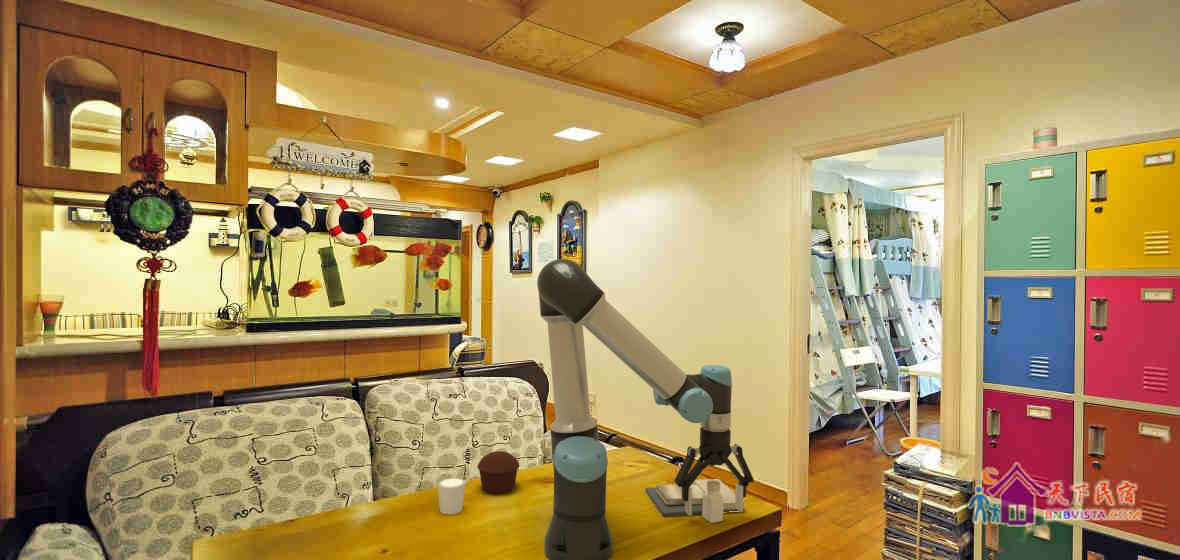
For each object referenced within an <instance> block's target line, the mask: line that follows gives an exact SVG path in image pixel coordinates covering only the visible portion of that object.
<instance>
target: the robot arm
mask: <svg viewBox="0 0 1180 560" xmlns="http://www.w3.org/2000/svg"><path fill="white" fill-rule="evenodd" d="M536 283H537V286H536V287H537V290H538V300H539V302H538V303H539V310H540V311H539V312H540V313H539V314H540V318H542V319H543V320H544V321H545V322H546V323H547V331H548V333H547V334H548V344H549V346H548V347H549V355H550V367H551V380H552V390H553V404H554V414H555V420H553V422H552V423H551V425H550V426H549V427H550V438H551V439H550V440H551V441H550V442H551V456H552V462H553V463H552V466H553V503H552V504H553V505H552V506H553V507H552V508H553V510H552V517H551V519H550V522H549V525H548V528H547V531H546V533H545V536H544V542H543V543H544V546H543V547H544V548H543V550H544V554H545V555H546V557H547V558H548V559H549V560H608V559H609V558H610V557H611V555H612V554H613V545H614V542H613V536H612V533H611V529H610V526H609V523H608V519H607V516H606V510H607V509H606V508H607V506H606V505H607V504H606V503H607V501H606V500H607V474H608V473H607V472H608V471H607V469H608V465H609V464H608V463H609V460H608V459H609V458H608V452H607V448H606V446H605V445H604V444H603V443H602V442H601V441H600V440H599V439H600V438H599V429H598V428H599V427H598V421H597V420H596V419H595V418H594V417H592V416H591V408H590V407H591V406H590V395H589V385H588V372H587V361H586V348H585V338H584V337H585V336H584V328H585V329H586V330H587V331H588V332H590V333H591V334H592V335H593V336H594V337H595V338H596V339H597V340H598V341H599V342H601V343H602V344H603V345H604V346H605V347H606V348H607V349H609V350H610V352H612V354H614V355H615V356H616V357H617V358H618V359H619V360H620V361H622V362H623V364H625V365H626V366H627V367H628V368H629V369H631V370H632V372H633V373H635V375H637V376H638V377H639V378H640V379H641V380H642V381H643V382H645V384H647V385H648V386H649V387H650V388H651V389H652V393H653V394H652V395H653V398H654V402H655V404H657V405H660V406H666V407H668V406H671V407H672V408H673V410H675V411H676V412H677V413H678V414H679V415H680V417H681V418H683V419H684V420H686V421H687V422H689V423H692V424H699V425H700V426H701V427H700V429H699V447H697V448H696V447H692V445H691V446H688V447H687V450H686V456H685V458H684V460H683V462H682V464H681V466H680V468H679V470H678V472H677V474H676V477H675V478H674V483H675V485H678V486H679V487H682V499H683V500H684V501H685V512H686V513H687V514H688V516H689V517H691V516H693V515H692V489H691V488H690V486H691V485H693V484H694V481H695V480H697V478H698V477H700V474H701V473H702V472H703V470H705V469H706V468H707V467H708V466H710V467H714V466H723V465H725V466H726V467H727V468H728V470H729V471H730V472H731V473H732V475H734V477H735V478H736V479H737V482H736V481H735V493H734V494H735V508H736V509H737V510H738V511H739V513H744V512H743V502H744V498H746V496H747V487H749V483H754V482H755V480H754V477H753V475H752V472H751V470H750V468H749V466H748V464H747V462H746V460H745V457H744V454H743V447H742V446H740V445H739V444H736V443H735V444H734V445H731V435H732V434H731V433H732V431H731V429H730V428H731V427H732V426H731V425H732V424H731V423H732V421H731V420H732V408H731V407H732V391H733V389H732V387H733V384H732V383H733V382H732V380H733V379H732V372H731V369H730V368H729V367H727V366H724V365H717V364H716V365H715V364H710V365H709V364H707V365H703V366H702V367H701V368H700V373H696V374H686V373H685V372H684V371H683V370H682V369H681V368H680V367H679V366H678V365H676V363H674V362H673V361H672V359H670V358H669V357H668V356H667V355H666V354H665V353H664V352H662V350H661V349H660V348H658V347H657V346H656V345H655V343H653V342H652V341H651V340H649V339H648V337H646V336H645V335H644V334H643V333H642V332H641V331H640V330H639V329H637V328H636V326H635V325H633V323H631V321H629V320H628V319H627V318H626V317H625V316H624V315H622V314H621V313H620V312H619V311H618V310H617V309H616V308H615V307H614V306H613V305H612V304H611V303H609V302H608V301H607V300H606V292H604V291H603V289H601V288H600V287H599V286H598V285H597V284H596V283H595V281H594V280H593V279H592V278H591V277H590V276H589V274H588V273H587V272H586V271H585V269H584V268H583V267H582V266H581V265H580V264H579V263H578V262H576V261H574V260H571V259H567V258H558V259H554V260H552V261H550V262H548V263H547V264H545V265H544V266H543V267H542V268H541V270H540V272H539V274H538V276H537V282H536ZM731 454H733V455H734V457H735V459H736V461H737V463H738V465H739V468H740V470H741V472H742V474H743V475H742V474H741V473H740V471H739V470H738V469H737V467H736V466H735V465H734V464H733V462H732V461H731V460H730V459H729V457H730V455H731ZM698 455H700V456H699V458H698V459H697V461H696V463H695V464H694V462H695V459H696V458H697V457H698ZM693 464H694V466H693ZM692 466H693V467H692Z"/></svg>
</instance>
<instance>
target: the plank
mask: <svg viewBox="0 0 1180 560" xmlns="http://www.w3.org/2000/svg"><path fill="white" fill-rule="evenodd" d="M655 488H656V492H657V493H658V494H659V496H660V497H661V498H662V500H663V501H664V502H665V504H666V505H681V504H685V501H684V500H683V499H682V487H679V486H678V485H677V484H656V485H655ZM690 488H691V489H692V504H703V494H705V493H704V491H703V490H702V489H701V488H700V487H699V486H698V485H694V484H692V485H691V486H690Z"/></svg>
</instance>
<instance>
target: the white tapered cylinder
mask: <svg viewBox="0 0 1180 560" xmlns="http://www.w3.org/2000/svg"><path fill="white" fill-rule="evenodd" d="M437 487H438V488H437V489H438V503H439V504H438V505H439V511H440V513H441V514H444V515H456V514H458V513H461V512H462V511H463V508H464V501H465V499H464V497H465V493H466V492H465V489H466V479H463V478H459V477H449V478H444V479H441V480H440V481H438V483H437Z"/></svg>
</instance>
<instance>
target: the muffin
mask: <svg viewBox="0 0 1180 560" xmlns="http://www.w3.org/2000/svg"><path fill="white" fill-rule="evenodd" d="M519 468H520V462H519V461H518V459H517V458H516V457H515V456H514V455H513V454H510V452H507V451H491V452H489V453H487V454H486V455H484V456H482V458H481V459H480V460H479V461H478V464H477V469H478V470H479V476H480V483H481V490H482V491H483V492H484V493H485V494H488V495H492V496H498V495H506V494H508V493H512V492H513V490H514V489H515V486H516V479H517V473H518V469H519Z"/></svg>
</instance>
